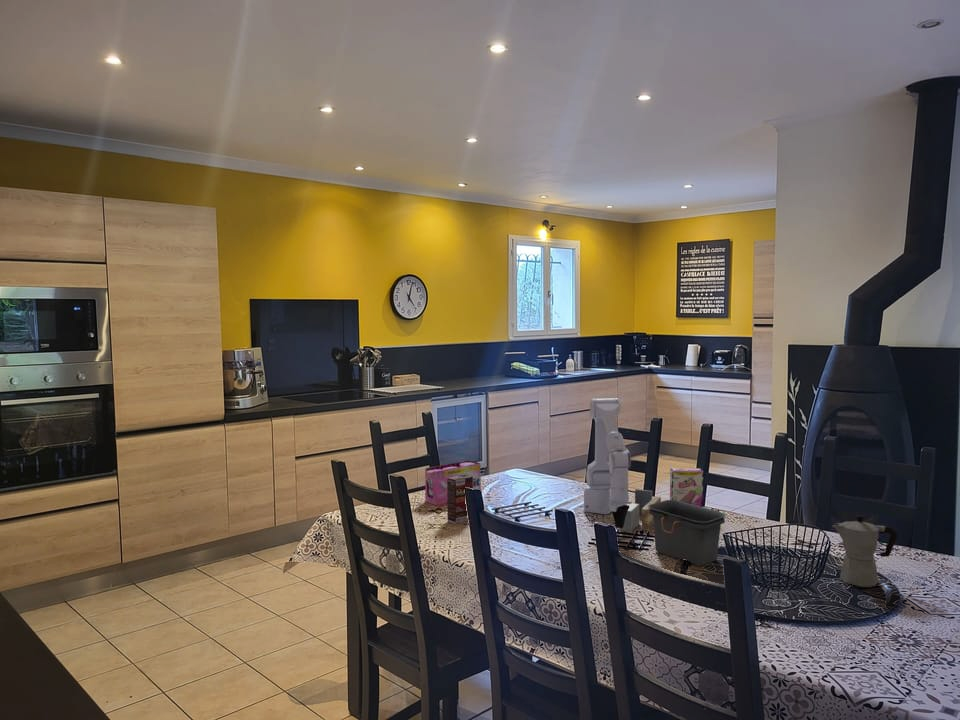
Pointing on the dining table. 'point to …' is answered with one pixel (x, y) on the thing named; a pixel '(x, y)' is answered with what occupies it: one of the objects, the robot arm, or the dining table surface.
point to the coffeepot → (862, 550)
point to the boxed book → (631, 517)
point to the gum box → (438, 479)
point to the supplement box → (457, 498)
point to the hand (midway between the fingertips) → (619, 527)
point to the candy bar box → (687, 485)
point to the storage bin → (686, 531)
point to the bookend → (642, 498)
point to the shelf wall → (648, 514)
